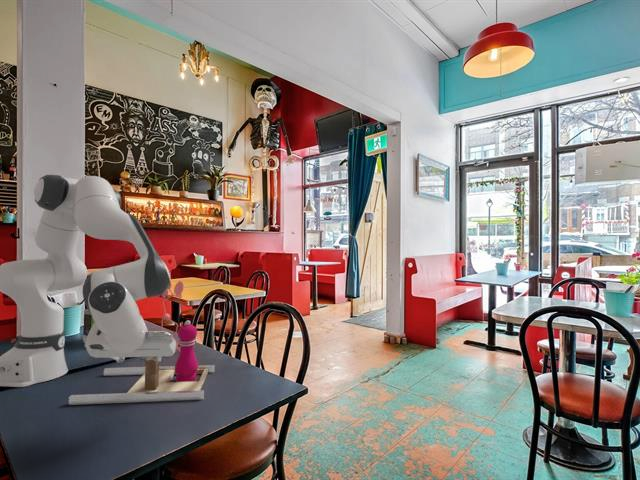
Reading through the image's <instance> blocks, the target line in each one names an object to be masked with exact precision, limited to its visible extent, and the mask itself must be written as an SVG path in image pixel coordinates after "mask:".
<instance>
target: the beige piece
mask: <svg viewBox="0 0 640 480" xmlns="http://www.w3.org/2000/svg"><path fill="white" fill-rule="evenodd" d="M144 365H145V366H144V367H145V374H144V375H141V377H140V378H139V379H138V380H137V381H136V383H134V384H133V386H132V387H130V388H129V390H128V391H127V392H126V393H141V392H168V391H195V390H202V387H203V384H204V383H205V380H206V378H207V376H208V374H209V373H208V368H205V369H197V371H196V372H195V373H196V375H201V376H200V378H199V380H198V381H197V380H195V381H192V382H176V381H171V380H172V379H173V378H174V376H175V375H176V376H177V375H178V374H177V373H176V372H175V369H169V370H159V367H160V361H159V362H158V361H155V360H154V357H146V359H145V364H144Z"/></svg>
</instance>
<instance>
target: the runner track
mask: <svg viewBox="0 0 640 480" xmlns="http://www.w3.org/2000/svg"><path fill="white" fill-rule="evenodd" d="M205 368H208V374H209V373H210V374H211V373H213V374H214V373H215V364H211V365H210V364H209V365H208V364H207V365H206V364H205V365H203V364H202V365H198V369H205ZM169 369H175V365H169V366H166V365H165V366H159V370H169ZM144 374H145V366H130V367H129V366H128V367H105V368H104V369H103V376H104V377H105V376H106V377H108V376H136V375H137V376H140V375H141V376H143V375H144ZM204 395H205V390H202V389H200V390H195V391H168V392H141V393H127V392H122V393H121V392H120V393H119V392H117V393H93V394H91V393H88V394H70V396H69V397H68V405H69V406H75V405H77V406H78V405H96V404H97V405H98V404H101V405H102V404H120V403H121V404H124V403H125V404H126V403H144V402H145V403H146V402H148V403H149V402H151V403H153V402H169V401H170V402H171V401H174V402H176V401H192V400H194V401H195V400H199V401H201V400H204V399H205V396H204Z"/></svg>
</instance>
